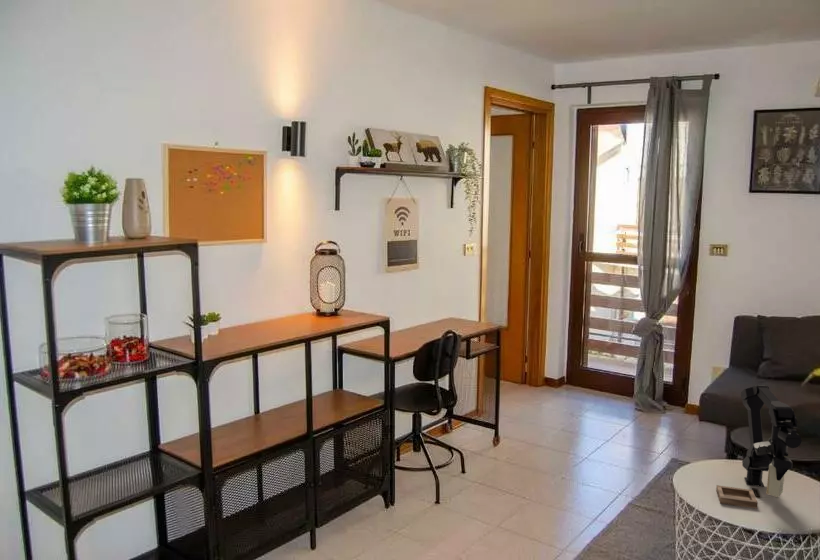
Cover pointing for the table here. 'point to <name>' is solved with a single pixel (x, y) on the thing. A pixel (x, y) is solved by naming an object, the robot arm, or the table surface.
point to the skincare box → (774, 483)
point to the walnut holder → (736, 496)
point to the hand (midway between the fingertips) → (776, 476)
